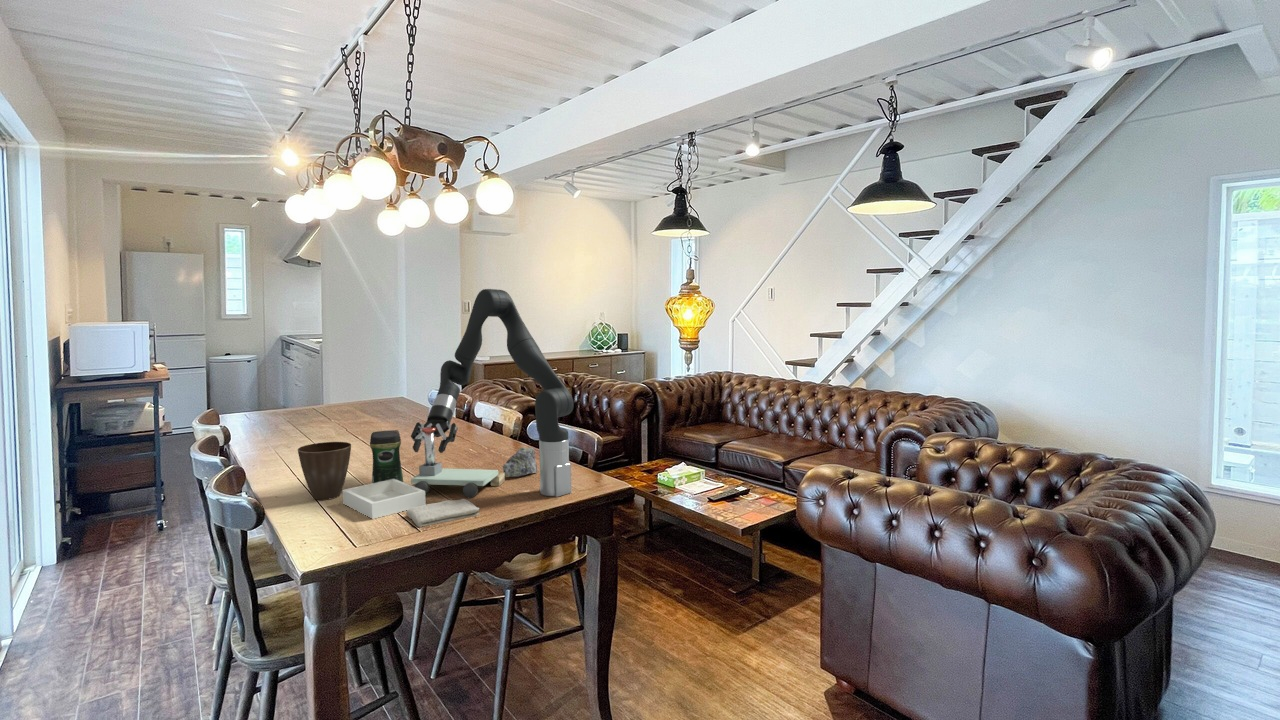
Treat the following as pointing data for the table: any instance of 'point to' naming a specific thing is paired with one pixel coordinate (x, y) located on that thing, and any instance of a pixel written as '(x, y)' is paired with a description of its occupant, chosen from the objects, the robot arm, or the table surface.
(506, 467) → the mineral rock
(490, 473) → the trolley
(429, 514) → the washcloth
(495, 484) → the block
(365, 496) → the tray
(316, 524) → the table surface
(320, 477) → the plant pot
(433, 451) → the pin
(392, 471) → the coffee jar
